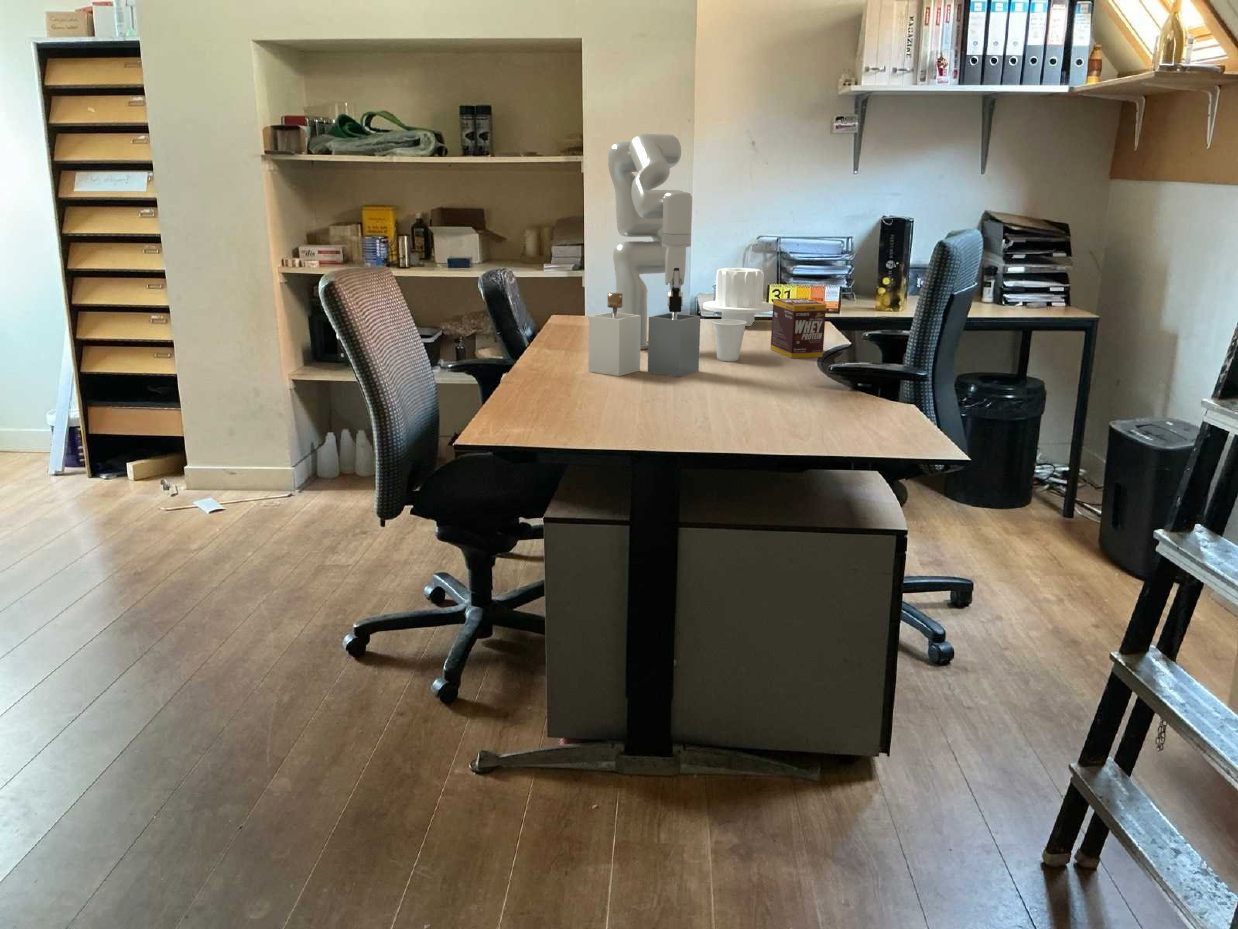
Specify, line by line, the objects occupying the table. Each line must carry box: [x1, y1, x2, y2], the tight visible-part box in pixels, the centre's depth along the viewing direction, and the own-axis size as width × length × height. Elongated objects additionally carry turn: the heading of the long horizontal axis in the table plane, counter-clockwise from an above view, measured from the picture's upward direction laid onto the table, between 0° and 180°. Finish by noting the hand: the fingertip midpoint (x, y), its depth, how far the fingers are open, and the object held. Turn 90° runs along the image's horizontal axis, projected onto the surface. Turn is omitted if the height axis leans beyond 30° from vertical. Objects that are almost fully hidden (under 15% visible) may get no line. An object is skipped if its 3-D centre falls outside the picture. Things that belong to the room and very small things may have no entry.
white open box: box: [588, 311, 641, 377], centre depth 278 cm, size 10×10×15 cm
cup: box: [711, 318, 747, 362], centre depth 296 cm, size 10×10×11 cm
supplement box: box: [770, 297, 827, 359], centre depth 307 cm, size 10×15×16 cm
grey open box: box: [647, 312, 701, 378], centre depth 277 cm, size 10×10×15 cm
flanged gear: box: [702, 267, 773, 327], centre depth 361 cm, size 25×25×19 cm
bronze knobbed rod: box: [607, 292, 623, 319], centre depth 277 cm, size 8×8×19 cm
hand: (674, 309), depth 275 cm, fingers closed on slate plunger, 4 cm apart
